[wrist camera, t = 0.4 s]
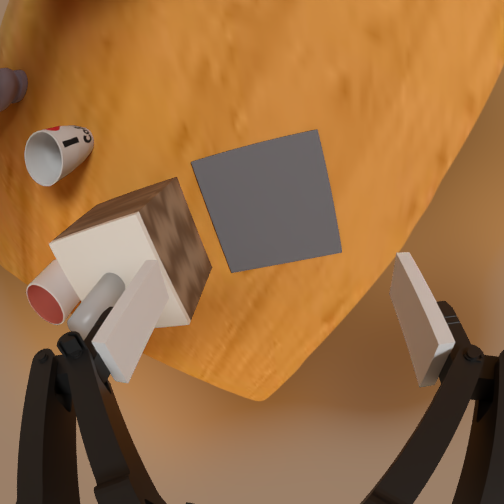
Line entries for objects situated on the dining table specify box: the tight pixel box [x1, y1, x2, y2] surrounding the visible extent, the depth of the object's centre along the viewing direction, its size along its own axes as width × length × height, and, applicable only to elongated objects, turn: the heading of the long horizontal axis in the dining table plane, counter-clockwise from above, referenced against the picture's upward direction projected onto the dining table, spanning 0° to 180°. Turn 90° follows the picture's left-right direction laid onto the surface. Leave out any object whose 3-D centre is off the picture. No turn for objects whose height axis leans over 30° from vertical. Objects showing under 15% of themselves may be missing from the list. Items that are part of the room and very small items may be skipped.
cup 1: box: [25, 125, 94, 186], centre depth 38 cm, size 8×8×10 cm
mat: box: [191, 130, 342, 273], centre depth 44 cm, size 19×18×1 cm
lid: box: [49, 211, 191, 341], centre depth 34 cm, size 16×16×11 cm
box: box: [53, 177, 212, 320], centre depth 44 cm, size 16×16×13 cm
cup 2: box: [27, 259, 80, 325], centre depth 53 cm, size 10×10×10 cm
